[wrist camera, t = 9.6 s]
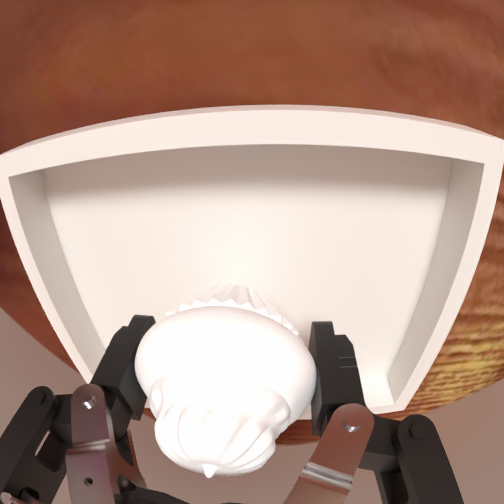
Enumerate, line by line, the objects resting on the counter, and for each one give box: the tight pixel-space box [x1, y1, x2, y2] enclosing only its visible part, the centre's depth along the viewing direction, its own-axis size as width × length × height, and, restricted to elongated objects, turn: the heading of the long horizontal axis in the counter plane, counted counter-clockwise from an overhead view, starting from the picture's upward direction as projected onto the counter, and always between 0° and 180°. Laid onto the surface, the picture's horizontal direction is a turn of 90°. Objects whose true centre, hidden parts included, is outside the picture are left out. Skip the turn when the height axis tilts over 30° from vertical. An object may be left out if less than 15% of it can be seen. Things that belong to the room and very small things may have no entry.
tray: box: [0, 105, 504, 420], centre depth 13 cm, size 20×16×3 cm
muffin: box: [135, 283, 317, 478], centre depth 9 cm, size 6×6×7 cm
